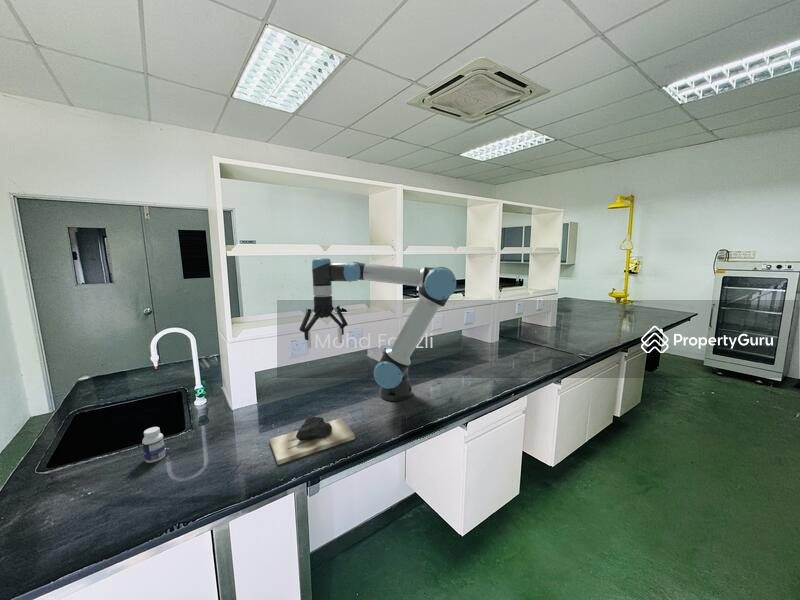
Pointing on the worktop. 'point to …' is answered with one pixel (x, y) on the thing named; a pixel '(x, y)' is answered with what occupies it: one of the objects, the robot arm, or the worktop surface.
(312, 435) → the rock
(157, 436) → the pill bottle
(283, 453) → the board
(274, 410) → the worktop surface
